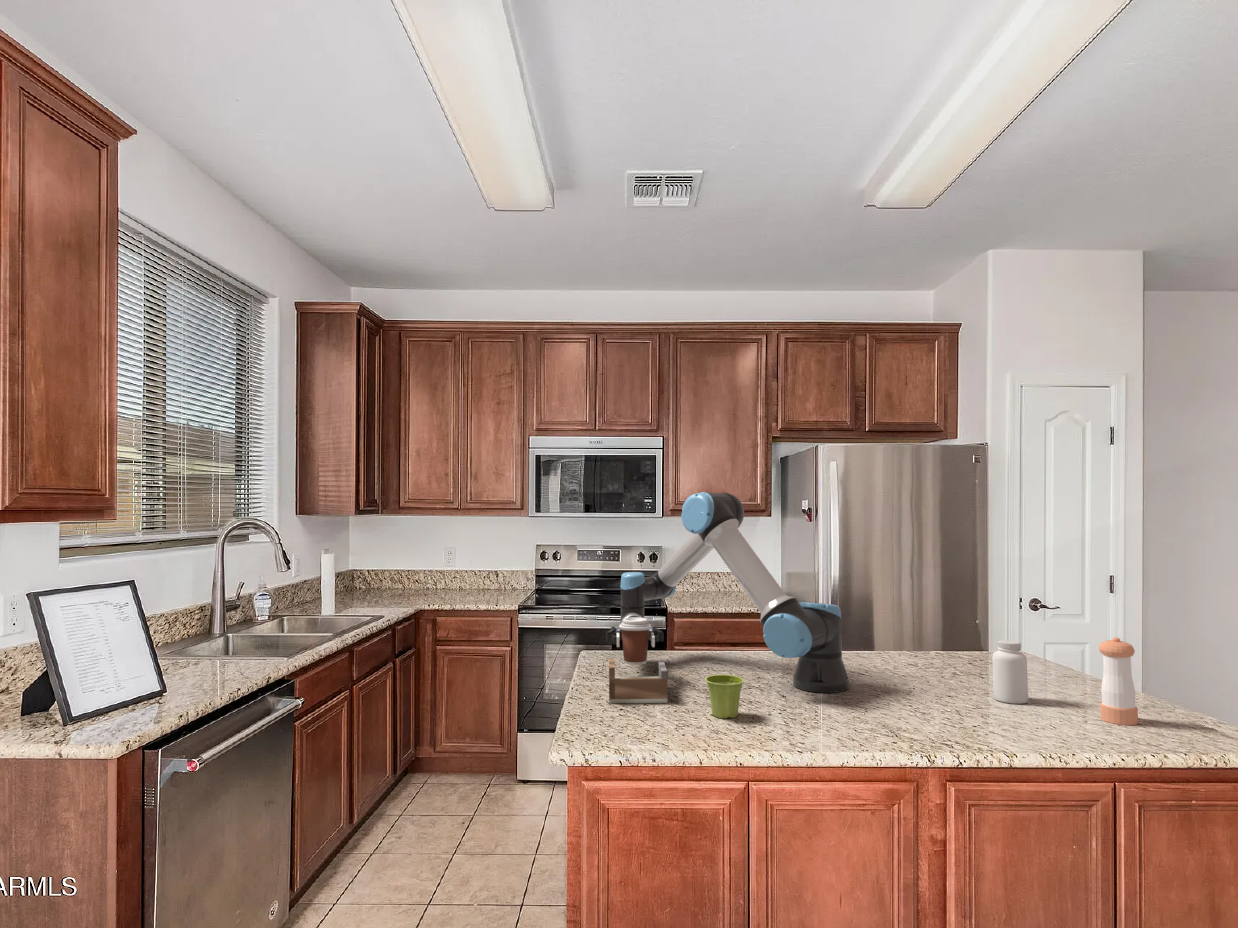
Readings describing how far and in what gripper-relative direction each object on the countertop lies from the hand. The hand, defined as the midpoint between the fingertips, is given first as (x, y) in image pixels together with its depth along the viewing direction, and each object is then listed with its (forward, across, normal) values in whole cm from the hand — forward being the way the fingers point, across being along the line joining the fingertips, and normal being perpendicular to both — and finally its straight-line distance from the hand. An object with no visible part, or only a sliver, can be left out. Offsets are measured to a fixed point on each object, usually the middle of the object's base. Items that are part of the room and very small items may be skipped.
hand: (635, 641), depth 207 cm
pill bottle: (+14, -96, -13) cm, 98 cm away
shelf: (+1, 0, -13) cm, 13 cm away
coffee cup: (-5, 0, -7) cm, 8 cm away
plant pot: (+25, -21, -13) cm, 35 cm away
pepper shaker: (+33, -112, -12) cm, 117 cm away
